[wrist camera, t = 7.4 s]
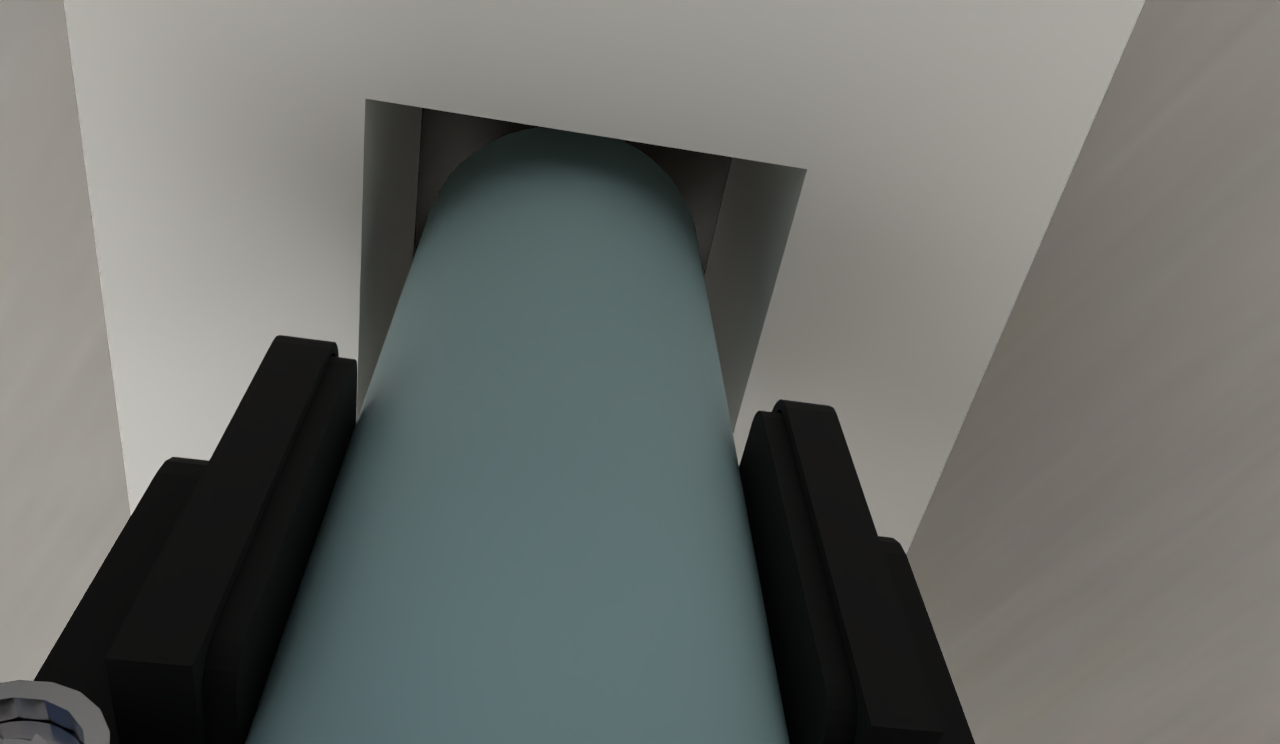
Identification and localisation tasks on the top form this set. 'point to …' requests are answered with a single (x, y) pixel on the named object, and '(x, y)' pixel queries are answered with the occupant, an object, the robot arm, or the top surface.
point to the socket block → (603, 106)
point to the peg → (538, 485)
